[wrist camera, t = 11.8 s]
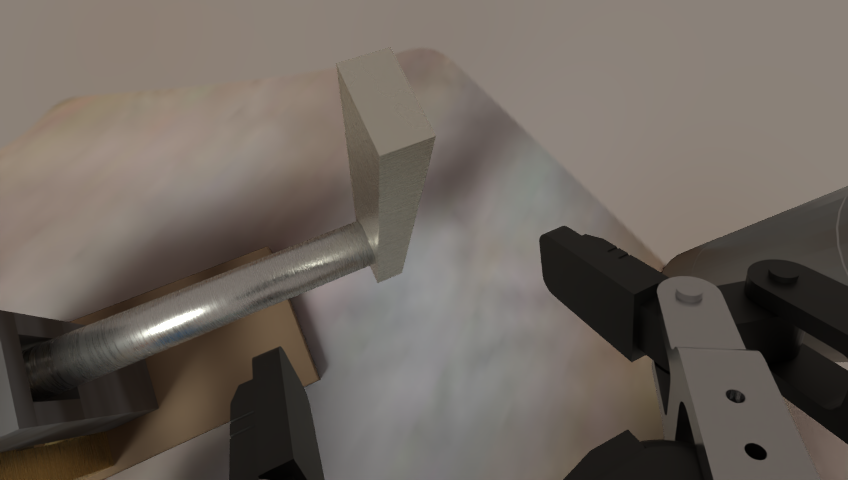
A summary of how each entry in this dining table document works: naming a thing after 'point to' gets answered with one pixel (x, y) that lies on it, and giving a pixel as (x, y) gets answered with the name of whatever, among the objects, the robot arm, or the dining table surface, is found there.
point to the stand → (144, 379)
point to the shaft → (287, 269)
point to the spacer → (59, 459)
